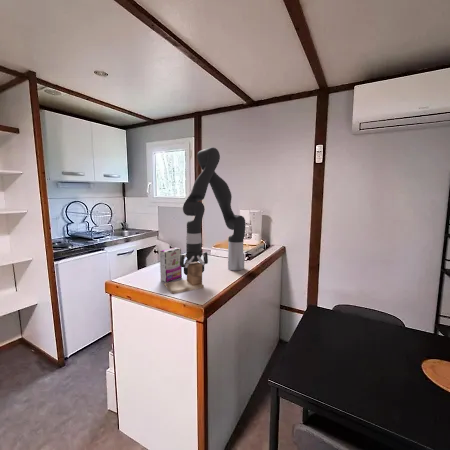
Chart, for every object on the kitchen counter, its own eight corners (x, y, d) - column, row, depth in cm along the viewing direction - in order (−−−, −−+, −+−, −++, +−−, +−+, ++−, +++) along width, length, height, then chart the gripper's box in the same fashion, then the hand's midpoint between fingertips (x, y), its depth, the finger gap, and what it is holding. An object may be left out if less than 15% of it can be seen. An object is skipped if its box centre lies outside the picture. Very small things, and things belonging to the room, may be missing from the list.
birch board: (194, 280, 136) (194, 278, 136) (203, 287, 126) (203, 285, 126) (164, 285, 128) (164, 283, 128) (172, 293, 118) (172, 291, 118)
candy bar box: (175, 275, 144) (175, 247, 142) (182, 277, 141) (181, 248, 139) (159, 280, 135) (159, 250, 133) (166, 282, 132) (165, 251, 130)
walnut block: (195, 279, 134) (195, 260, 133) (202, 283, 127) (202, 264, 126) (186, 280, 132) (186, 261, 131) (192, 285, 125) (192, 265, 124)
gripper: (203, 239, 134) (203, 269, 136) (177, 241, 127) (178, 273, 129) (210, 241, 127) (210, 273, 129) (183, 244, 120) (183, 277, 122)
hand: (194, 273), depth 129 cm, fingers open, 8 cm apart
